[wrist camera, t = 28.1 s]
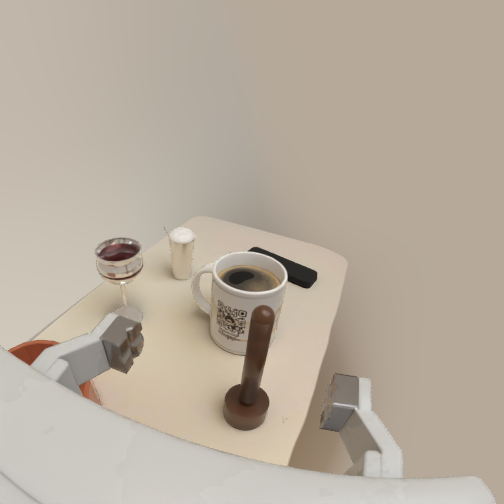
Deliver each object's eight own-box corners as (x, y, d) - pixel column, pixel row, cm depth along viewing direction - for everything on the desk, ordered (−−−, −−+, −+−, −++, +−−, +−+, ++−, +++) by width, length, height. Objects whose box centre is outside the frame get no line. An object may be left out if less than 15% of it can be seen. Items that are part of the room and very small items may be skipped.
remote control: (317, 279, 62) (253, 250, 68) (319, 272, 61) (254, 243, 67) (307, 291, 58) (240, 259, 64) (310, 284, 57) (241, 252, 63)
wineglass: (117, 298, 49) (108, 234, 44) (154, 307, 49) (149, 241, 43) (99, 324, 44) (84, 257, 38) (138, 335, 43) (129, 266, 37)
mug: (224, 366, 41) (229, 303, 35) (189, 311, 49) (189, 251, 44) (287, 342, 46) (303, 282, 40) (246, 296, 55) (254, 239, 49)
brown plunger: (263, 433, 32) (295, 332, 24) (220, 427, 33) (230, 323, 24) (266, 399, 37) (294, 293, 28) (226, 393, 37) (238, 285, 28)
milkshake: (163, 270, 58) (161, 221, 53) (191, 266, 60) (192, 218, 55) (167, 284, 55) (166, 233, 50) (196, 280, 57) (198, 230, 52)
